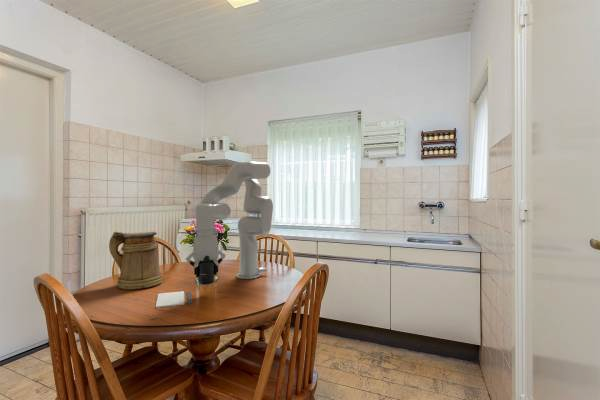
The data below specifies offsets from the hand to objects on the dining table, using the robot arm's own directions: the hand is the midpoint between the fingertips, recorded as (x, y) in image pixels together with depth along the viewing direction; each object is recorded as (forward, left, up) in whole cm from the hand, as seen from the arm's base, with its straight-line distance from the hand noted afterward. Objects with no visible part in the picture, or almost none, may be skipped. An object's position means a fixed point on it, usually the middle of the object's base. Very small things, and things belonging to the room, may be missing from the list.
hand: (206, 274), depth 125 cm
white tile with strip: (+12, +1, -9) cm, 15 cm away
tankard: (+30, -27, -9) cm, 41 cm away
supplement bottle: (0, 0, -3) cm, 3 cm away
